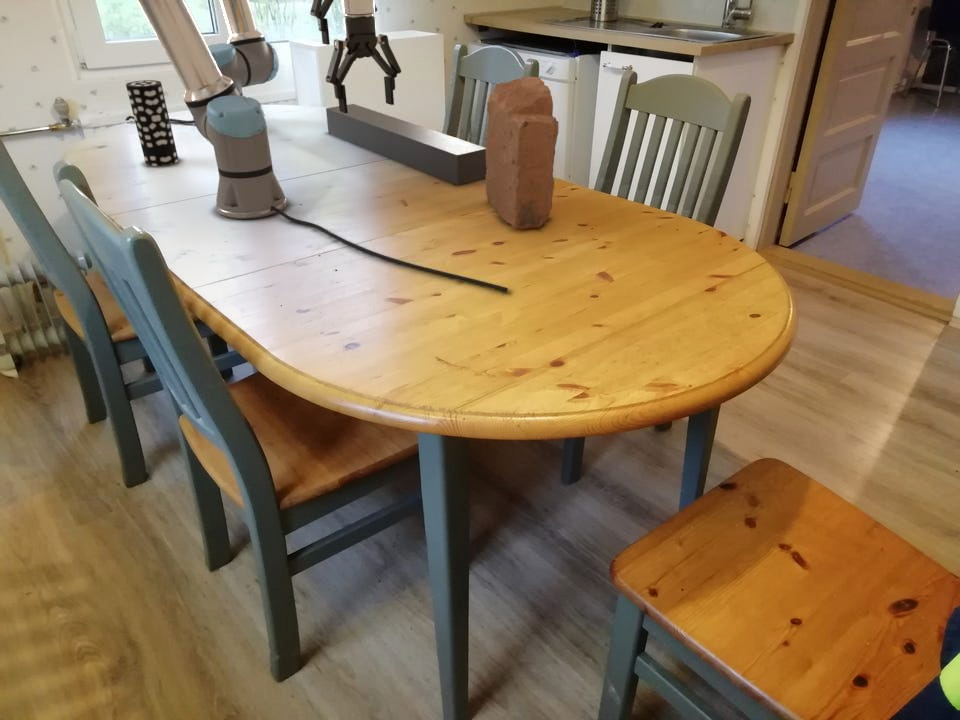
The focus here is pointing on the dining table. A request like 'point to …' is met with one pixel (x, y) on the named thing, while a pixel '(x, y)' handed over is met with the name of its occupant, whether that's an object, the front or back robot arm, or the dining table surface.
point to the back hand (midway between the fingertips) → (347, 42)
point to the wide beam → (409, 144)
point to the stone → (521, 151)
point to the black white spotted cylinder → (152, 122)
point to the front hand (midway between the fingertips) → (367, 108)
